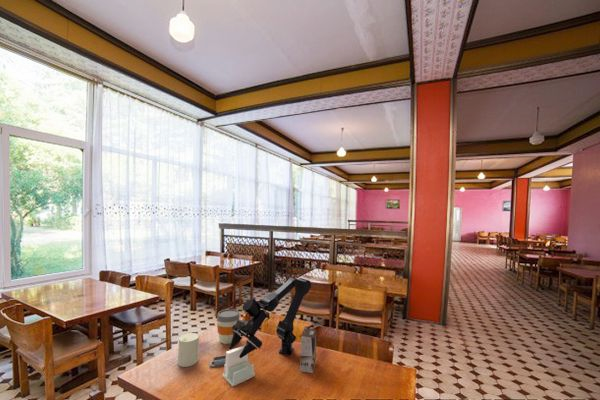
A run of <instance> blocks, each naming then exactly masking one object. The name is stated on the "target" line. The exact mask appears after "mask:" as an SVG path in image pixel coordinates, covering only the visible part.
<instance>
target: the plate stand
mask: <svg viewBox="0 0 600 400" xmlns="http://www.w3.org/2000/svg"><path fill="white" fill-rule="evenodd" d="M208 363H209V364H208V365H209V369H210V368H215V367H216V368H217V367H221V366H224V364H225V363H226V354H224V355H216V356H214V357H213V360H211V359H209V361H208Z"/></svg>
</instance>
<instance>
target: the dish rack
mask: <svg viewBox="0 0 600 400" xmlns="http://www.w3.org/2000/svg"><path fill="white" fill-rule="evenodd" d="M255 376H256V373H255V364H254V363H252V364H251V365H250V360H248V361H245V362H243V363H241V364H238V365H236V366H234V367H231V368H229V373H228V377H226V375H225V364H224V365H223V373H222V378H223V379H225V380H226V381H227V382H228V384H230V385H231V387H235V386H237V385H239V384H241V383H243V382H245V381H247V380H249V379H251V378H253V377H255Z"/></svg>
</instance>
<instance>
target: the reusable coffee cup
mask: <svg viewBox="0 0 600 400" xmlns="http://www.w3.org/2000/svg"><path fill="white" fill-rule="evenodd" d="M216 315H217V317H216V320H217V324H216V327H217V333H218V338H219V343H221V344H223V345H224V344H225V345H227V344H231V341H232V338H233V331H234V330H233V329H232V327H233V326H234V325H235V324H236V322H237V320H240V317H241V316H240V311H239V310H238V309H234V308H228V309H226V308H225V309H222V310H219V311H218V313H217V314H216ZM232 330H233V331H232Z"/></svg>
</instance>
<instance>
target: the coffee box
mask: <svg viewBox="0 0 600 400" xmlns="http://www.w3.org/2000/svg"><path fill="white" fill-rule="evenodd" d="M316 359H317V329H314V328H304V329H303V331H302V334H301V337H300V362H299V363H300V364H299V365H300V366H299V367H300V368H299V372H303V373H310V374H313V373H314V371H315V366H316Z"/></svg>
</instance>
